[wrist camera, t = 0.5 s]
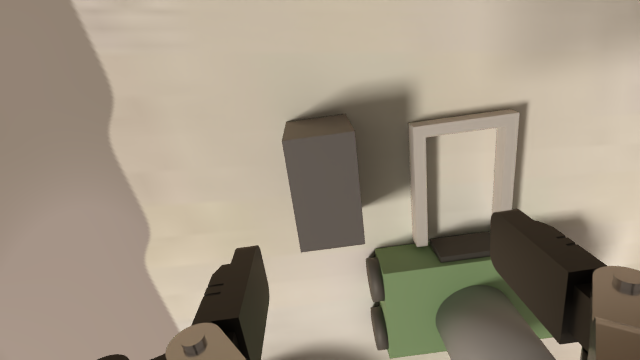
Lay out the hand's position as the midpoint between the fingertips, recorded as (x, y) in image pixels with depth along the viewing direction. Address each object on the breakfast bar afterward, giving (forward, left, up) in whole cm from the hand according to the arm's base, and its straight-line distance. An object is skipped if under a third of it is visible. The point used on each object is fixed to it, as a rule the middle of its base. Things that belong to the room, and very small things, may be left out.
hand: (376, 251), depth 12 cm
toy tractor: (+12, +10, -19) cm, 25 cm away
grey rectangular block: (+4, -1, -19) cm, 20 cm away
